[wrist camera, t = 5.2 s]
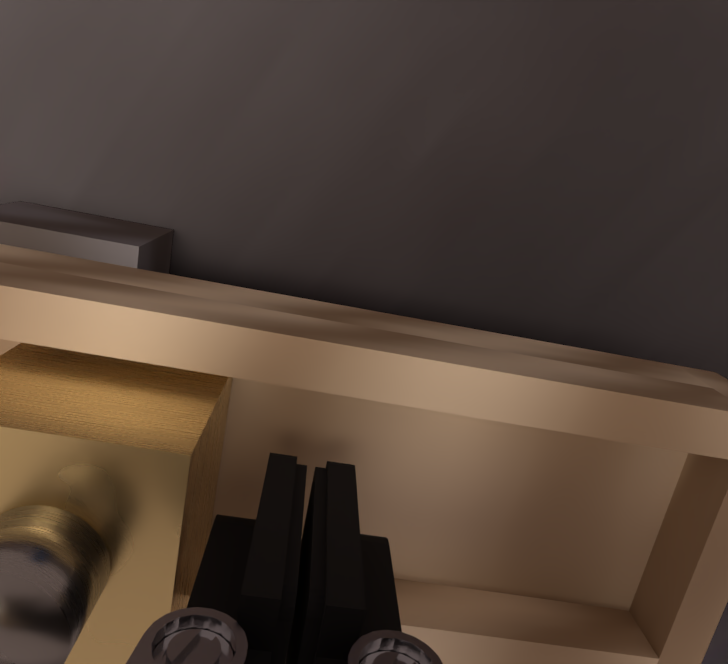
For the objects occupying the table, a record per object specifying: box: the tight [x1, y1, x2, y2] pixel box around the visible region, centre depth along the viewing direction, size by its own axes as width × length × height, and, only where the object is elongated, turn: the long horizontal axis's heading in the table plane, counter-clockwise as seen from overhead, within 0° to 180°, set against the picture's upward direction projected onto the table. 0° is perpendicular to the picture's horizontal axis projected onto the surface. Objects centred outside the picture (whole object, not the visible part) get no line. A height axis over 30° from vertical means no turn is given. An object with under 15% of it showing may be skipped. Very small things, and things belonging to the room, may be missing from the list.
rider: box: [0, 343, 233, 664], centre depth 11 cm, size 4×4×6 cm
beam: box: [0, 201, 728, 664], centre depth 15 cm, size 32×8×6 cm, turn 79°
